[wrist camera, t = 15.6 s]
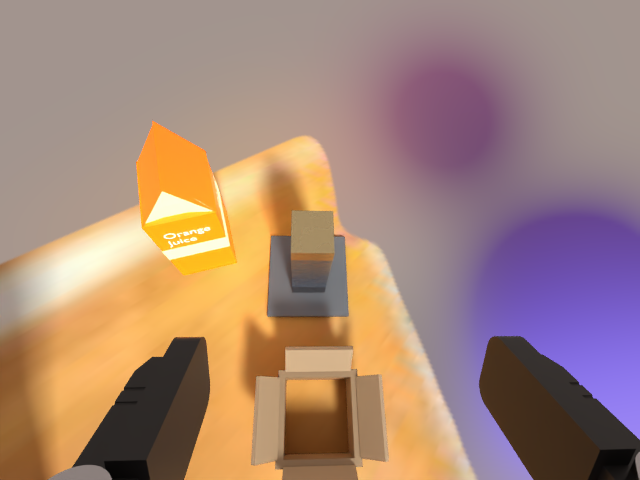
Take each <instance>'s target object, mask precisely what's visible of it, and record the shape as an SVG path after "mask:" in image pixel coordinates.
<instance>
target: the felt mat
mask: <svg viewBox="0 0 640 480" xmlns="http://www.w3.org/2000/svg"><path fill="white" fill-rule="evenodd" d="M334 250H335V254H334V258H333V262H332V266H331V270H330V274H329V277H328V281H327V285H326V289H325V293H292V270H291V236H271V254H270V274H269V294H268V314H267V316H268V317H348V316H349V313H348V294H347V274H346V255H345V237H334Z"/></svg>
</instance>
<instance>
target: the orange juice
mask: <svg viewBox="0 0 640 480" xmlns="http://www.w3.org/2000/svg"><path fill="white" fill-rule="evenodd" d="M136 165H137V176H138V188H139V200H140V212H141V224H142V229H143V230H144V231H145V232H146V233H147V234H148V236H149V237H150V238H151V239H152V240H153V241H154V242H155V243H156V245H157V246H158V247H159V248H160V249H161V250H162V252H163V253H164V254H165V255H166V257H167V258H168V259H169V260H171V262H172V263H173V264H174V265H175V266H176V267H177V268H178V269H179V271H180V272H181V273H182V274H183V275H188V274H193V273H197V272H201V271H205V270H209V269H213V268H218V267H222V266H226V265H230V264H234V263H237V260H236V256H235V251H234V246H233V241H232V236H231V231H230V226H229V221H228V216H227V212H226V209H225V206H224V204H223V201H222V198H221V195H220V193H219V189H218V186H217V184H216V181H215V179H214V176H213V174H212V171H211V168H210V165H209V163H208V160H207V156H206V151H205V150H203V149H201V148H200V147H198V146H196V145H194V144H192V143H191V142H189V141H187V140H185V139H183V138H182V137H180V136H178V135H177V134H175V133H173V132H171V131H169V130H168V129H166V128H164V127H162V126H161V125H159V124H157V123H155V122H154V121H153V126H152V128H151V130H150V133H149V135H148V137H147V140H146V142H145V145H144V148H143V150H142V152H141V155H140V157H139V160H138V162H136Z"/></svg>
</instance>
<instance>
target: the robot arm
mask: <svg viewBox="0 0 640 480" xmlns="http://www.w3.org/2000/svg"><path fill="white" fill-rule="evenodd" d="M479 388H480V393H481V397H482V400H483V402H484V404H485V405H486V407H487V408H488V410H489V411H490V413H491V415H492V416H493V418H494V419H495V421H496V422H497V424H498V425H499V427H500V428H501V430H502V432H503V433H504V435H505V436H506V438H507V439H508V441H509V443H510V444H511V446H512V447H513V449H514V450H515V452H516V453H517V455H518V457H519V458H520V460H521V461H522V463H523V464H524V466H525V467H526V469H527V470H528V472H529V474H530V475H531V477H532V478H533V479H534V480H640V440H639V439H638V438H637V437H636V436H635V435H634V434H633V433H632V432H631V431H630V430H629V429H627V428H626V427H625V426H624V425H623V424H622V423H621V422H620V421H619V420H618V419H617V418H616V417H615V416H614V415H613V414H612V413H611V412H610V411H609V410H608V409H606V408H605V407H604V406H603V405H602V404H601V403H600V402H599V401H598V400H597V399H593V397H592V394H591V393H590V392H589V391H587V390H586V389H585V388H584V387H583V386H582V385H579V382H578V381H577V380H576V379H575V378H574V377H573V376H572V375H571V374H570V373H569V372H567V371H566V370H565V369H564V368H563V367H562V366H560V365H559V364H557V363H555V362H554V361H552V360H550V359H549V358H547V357H546V356H544V355H541V354H540V353H539V352H537V350H536V349H535V348H534V347H533V346H532V345H530V343H529V342H527V340H525V339H524V338H523V337H520V336H496V337H495V336H494V337H492V338H490V340H489V342H488V345H487V350H486V354H485V358H484V363H483V367H482V372H481V375H480V380H479ZM209 394H210V378H209V367H208V356H207V345H206V340H205V338H204V337H176V338H174V339H173V341H172V342H171V344H170V346H169V348H168V349H167V351H166V353H165V355H164V356H163V357H152V358H150V359H149V360H148V361H147V362H145V363H144V364H143V365H142V366H140V367H139V368H138V369H137V370H136V371H135V372H134V373H133V375H132V376H131V378H130V379H129V381H128V382H127V384H126V386H125V387H124V391H122V392H121V393H120V395H119V396H118V398H117V399H116V401H115V405H113V406H112V407H111V409H110V410H109V412H108V413H107V415H106V416H105V418H104V419H103V421H102V422H101V424H100V425H99V427H98V429H97V430H96V432H95V433H94V435H93V436H92V438H91V439H90V441H89V442H88V444H87V445H86V447H85V449H84V450H83V452H82V453H81V455H80V456H79V458H78V459H77V461H76V462H75V464H74V465H73V467H72V468H70V469H67V470H65V471H63V472H60V473H58V474H56V475H55V476H53V477H51V478H50V479H48V480H184V478H185V475H186V472H187V469H188V465H189V462H190V459H191V456H192V453H193V450H194V447H195V444H196V440H197V437H198V434H199V431H200V428H201V425H202V422H203V419H204V415H205V412H206V409H207V406H208V401H209Z"/></svg>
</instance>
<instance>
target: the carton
mask: <svg viewBox="0 0 640 480" xmlns="http://www.w3.org/2000/svg"><path fill="white" fill-rule="evenodd" d="M352 355H353V346H321V347H285V370H279V374H278V377H267V376H256V390H255V407H254V424H253V440H252V457H251V465H259V464H264V463H268V462H273V461H276V463H275V469H283V477H282V480H358V477H357V472H356V467H363V464H362V458H363V459H370V460H377V461H383V462H387V461H389V456H388V444H387V432H386V421H385V409H384V398H383V386H382V375H368V376H357V369H351V363H352ZM326 379H346V400H347V423H348V446H349V453H316V454H285V419H286V380H326Z"/></svg>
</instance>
